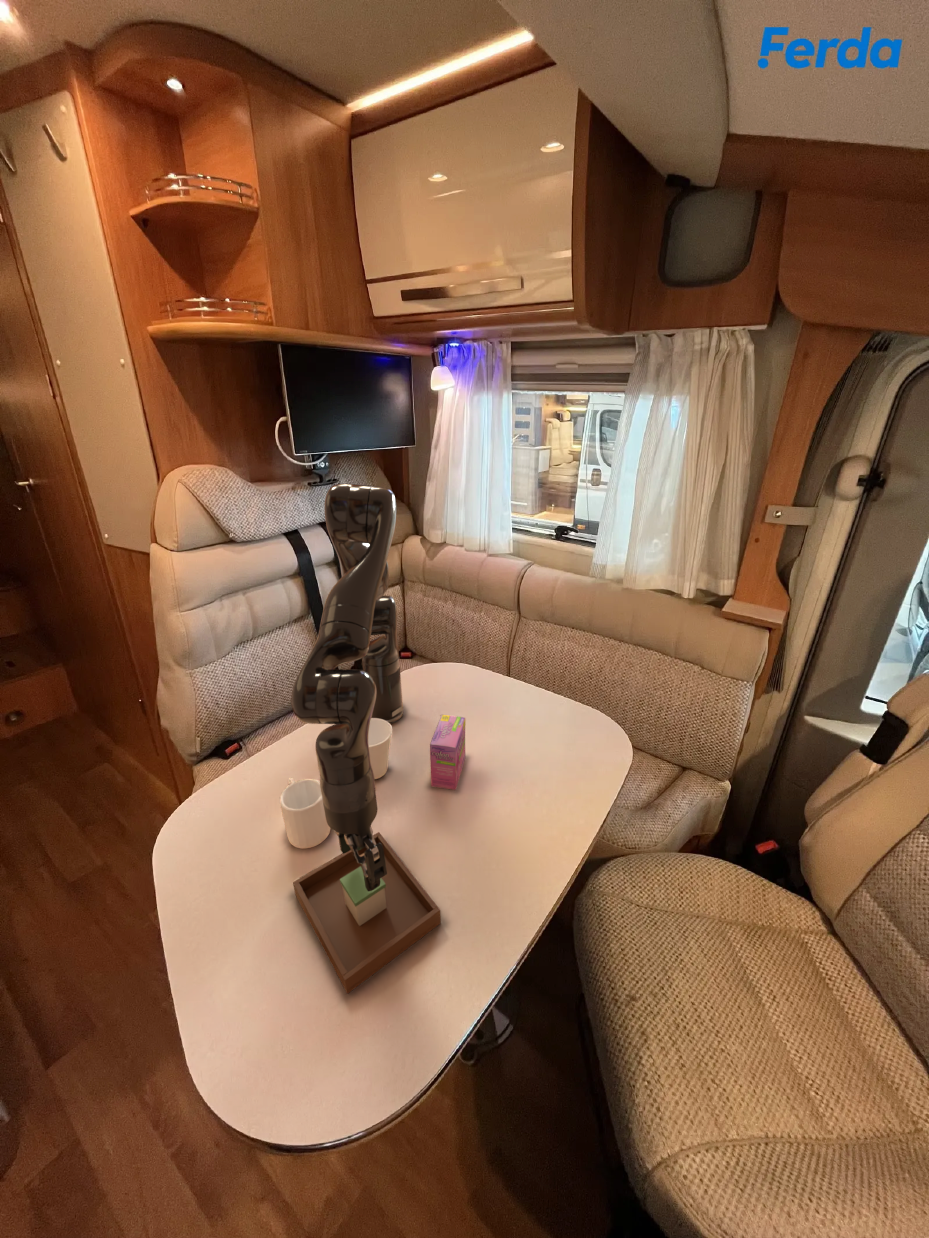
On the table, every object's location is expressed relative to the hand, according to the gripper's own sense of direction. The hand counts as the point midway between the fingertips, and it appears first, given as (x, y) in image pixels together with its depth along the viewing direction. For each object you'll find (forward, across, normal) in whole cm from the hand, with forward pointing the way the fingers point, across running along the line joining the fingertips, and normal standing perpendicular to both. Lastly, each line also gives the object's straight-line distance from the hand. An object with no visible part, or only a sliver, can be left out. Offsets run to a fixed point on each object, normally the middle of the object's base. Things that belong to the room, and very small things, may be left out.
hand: (360, 867), depth 79 cm
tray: (+10, 0, 0) cm, 10 cm away
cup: (+10, +28, -17) cm, 34 cm away
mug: (+10, +23, +1) cm, 25 cm away
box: (+10, +17, -30) cm, 36 cm away
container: (+9, 0, 0) cm, 9 cm away
